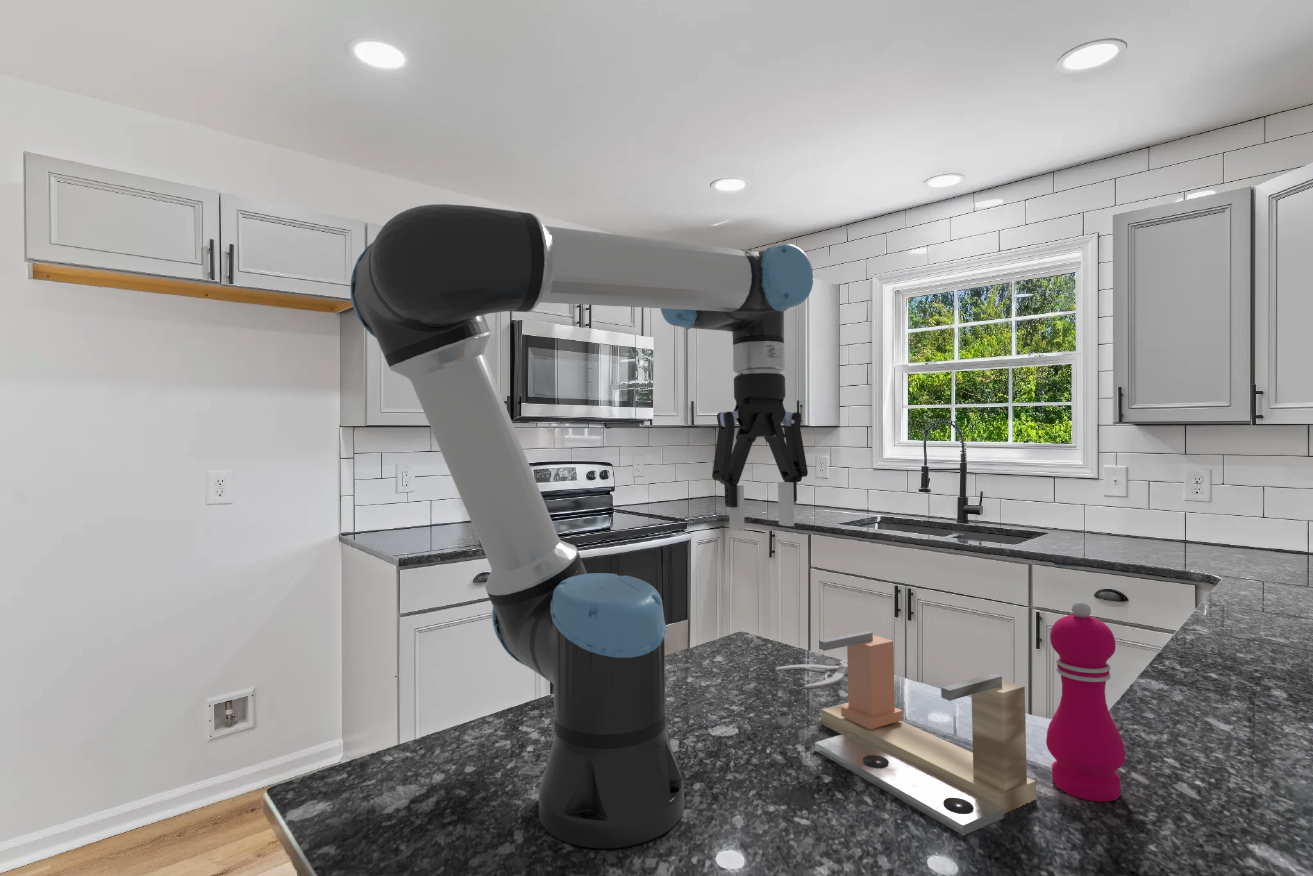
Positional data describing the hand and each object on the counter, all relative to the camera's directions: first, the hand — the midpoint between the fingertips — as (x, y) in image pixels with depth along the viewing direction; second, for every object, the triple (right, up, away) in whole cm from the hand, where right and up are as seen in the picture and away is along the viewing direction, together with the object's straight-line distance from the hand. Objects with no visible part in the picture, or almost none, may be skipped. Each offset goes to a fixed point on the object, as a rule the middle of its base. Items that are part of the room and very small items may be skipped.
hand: (762, 527), depth 101 cm
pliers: (+13, -26, +11) cm, 31 cm away
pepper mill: (+31, -25, -27) cm, 48 cm away
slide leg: (+10, -23, -14) cm, 29 cm away
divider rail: (+13, -25, -21) cm, 35 cm away
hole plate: (+11, -25, -25) cm, 37 cm away
